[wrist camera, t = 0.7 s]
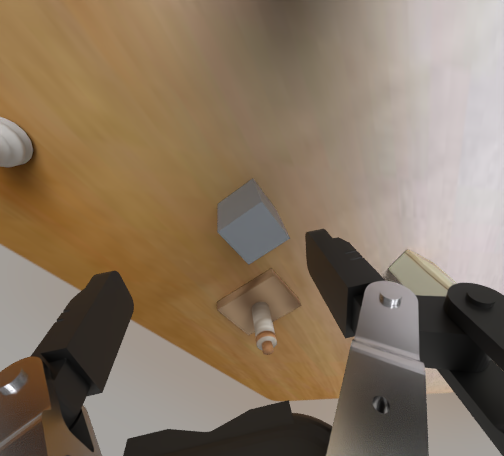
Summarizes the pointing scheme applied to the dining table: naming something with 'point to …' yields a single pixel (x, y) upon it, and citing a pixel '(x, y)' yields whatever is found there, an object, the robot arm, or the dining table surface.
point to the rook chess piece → (13, 144)
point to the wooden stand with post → (259, 307)
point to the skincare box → (421, 275)
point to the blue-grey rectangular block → (250, 222)
